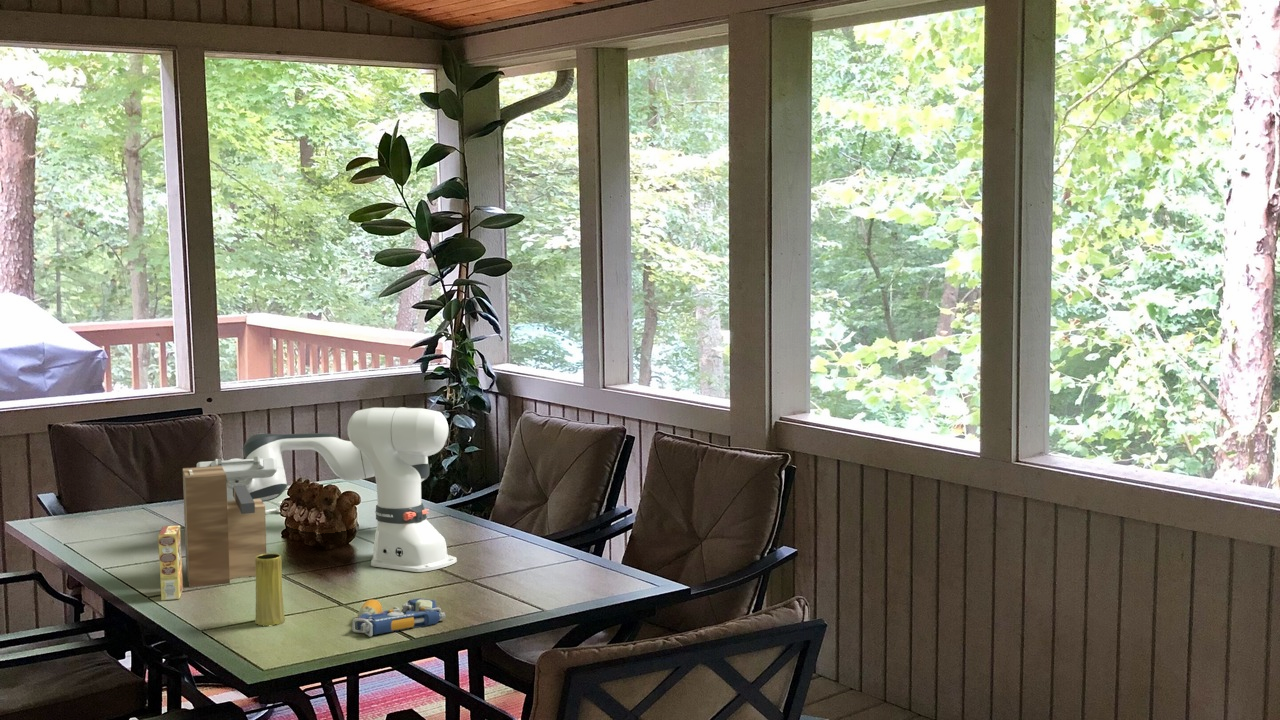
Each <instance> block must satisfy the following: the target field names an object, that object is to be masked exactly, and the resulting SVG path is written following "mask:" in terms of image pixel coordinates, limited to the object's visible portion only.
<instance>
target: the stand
mask: <svg viewBox="0 0 1280 720" xmlns="http://www.w3.org/2000/svg"><path fill="white" fill-rule="evenodd" d="M182 485H183V487H182V489H183V515H184V517H183V518H184V520H183V521H184V541H185V542H184V543H185V568H186V569H185V570H186V571H185V572H186V577H187V583H188V582H189V583H188V585H189V588H193V587H194V586H196V587H203V586H215V585H223V584H224V585H225V584H230V580H231V579H239V578H238V577H242V578H250V577H249V576H252V577H256V565H255V557H256V556H258V555H261V554H267V553H268V552H267V525H266V524H267V521H266V512H265V510H266V505H265V504H264V502H262V500H261V499H253V501H254V503H255V513H247V514H241V511H240V509H239V507H238V505H237V503H236V501H227V482H226V474H225V472H224V470H223V468H222V466H209V467H197V466H196V467H183V468H182ZM194 588H195V587H194Z"/></svg>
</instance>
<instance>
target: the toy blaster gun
mask: <svg viewBox="0 0 1280 720" xmlns="http://www.w3.org/2000/svg"><path fill="white" fill-rule="evenodd" d="M444 619H446V613H445V612H444V611H443V612H442V609H441V607H438V606H437V603H436V600H435V599H426V598H414V599H409V600H407V602H405V603H403V604H402V609H400V607H398V606H393V607H392V609H389V610H383V606H382V604H381V603H380V602H379V600H377V599H368V600H366V601H365V602H364V603H363V604H362V606H361V607H360V609H359V610H358V612H357V618H356V617H355V618H353V619H352V626H351V627H352V630H351V631H352V632H353V633H360V634H361V633H362V634H365V635H366V636H368V637H372V636H373V635H375V636H376V635H382V634H388V633H394V631H395V632H400V631H404V630H405V629H406V630H410V629H409V628H412V629H416V628H415V627H417V628H421V626H423V627H426V626H427V627H428V626H432V624H433V625H437V624H438V622H440V621H442V620H444ZM399 630H400V631H399Z"/></svg>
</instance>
